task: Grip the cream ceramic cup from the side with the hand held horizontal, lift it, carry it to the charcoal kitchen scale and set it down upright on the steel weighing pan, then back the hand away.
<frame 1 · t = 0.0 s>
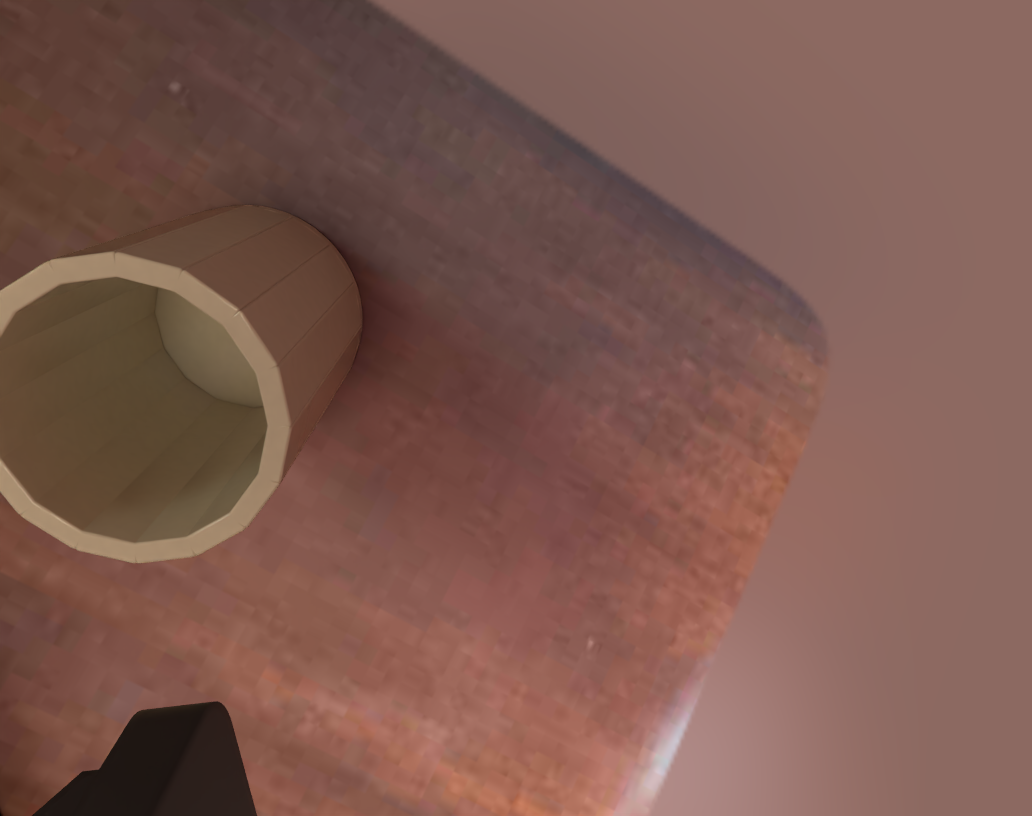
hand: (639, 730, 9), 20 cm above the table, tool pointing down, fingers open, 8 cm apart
cup: (255, 313, 28), on the table
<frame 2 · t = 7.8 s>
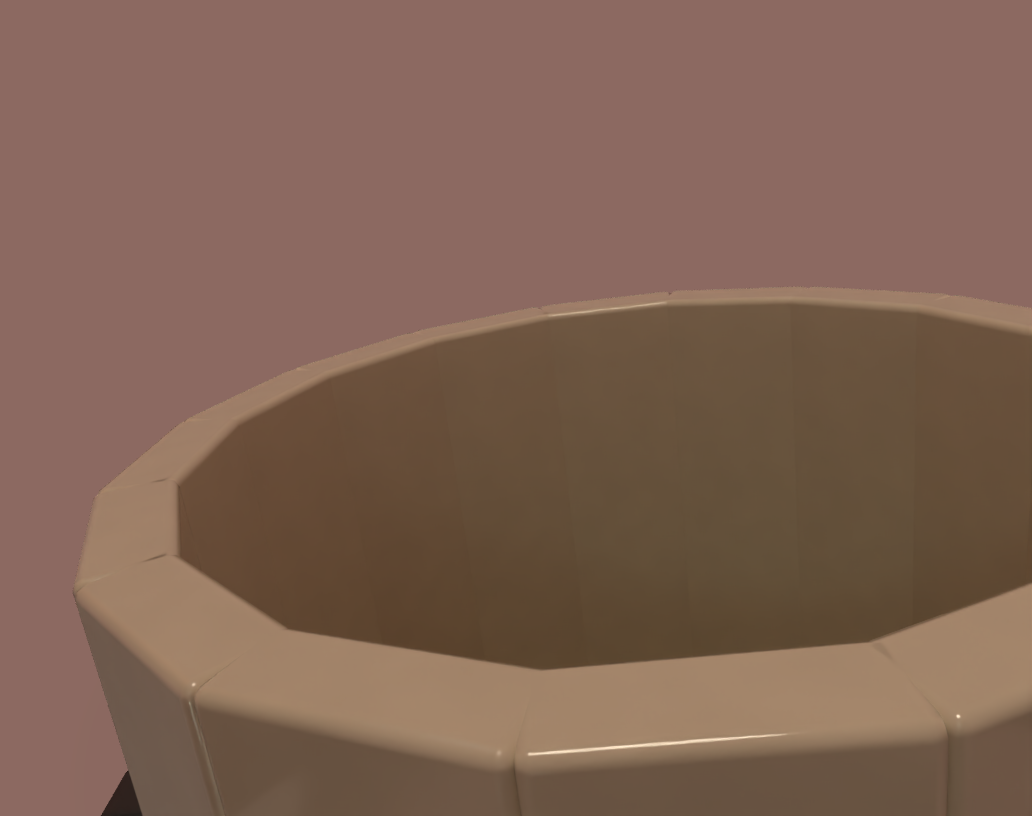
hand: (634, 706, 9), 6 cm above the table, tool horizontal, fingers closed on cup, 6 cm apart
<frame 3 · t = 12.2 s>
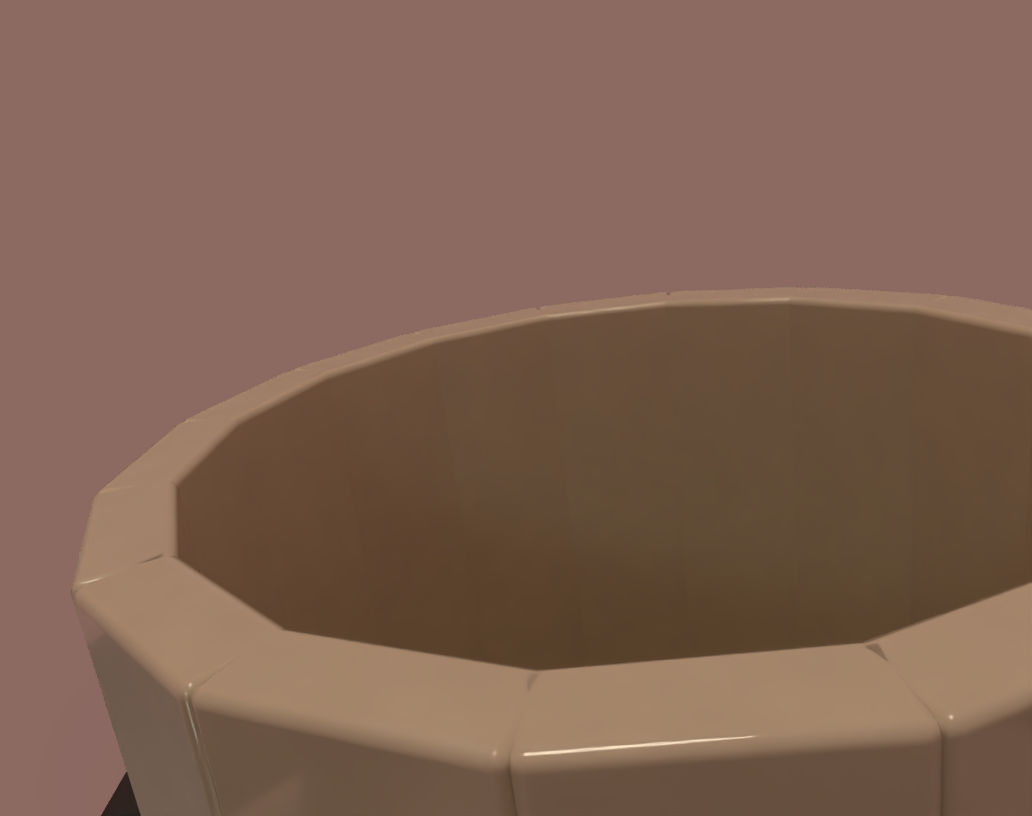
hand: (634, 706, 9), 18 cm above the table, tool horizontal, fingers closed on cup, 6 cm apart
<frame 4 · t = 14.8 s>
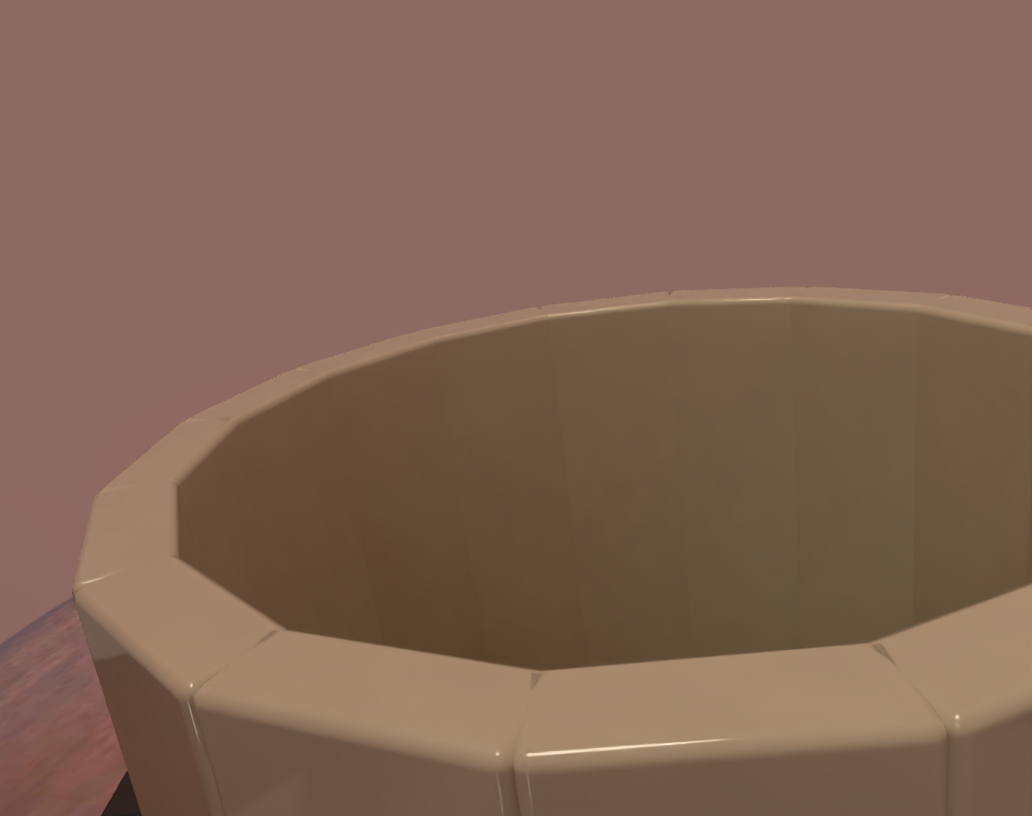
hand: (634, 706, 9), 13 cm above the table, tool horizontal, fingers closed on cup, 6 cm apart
when the fingers open (9 cm above the table, at t = 16.6 s): cup stays where it is, resting on scale.
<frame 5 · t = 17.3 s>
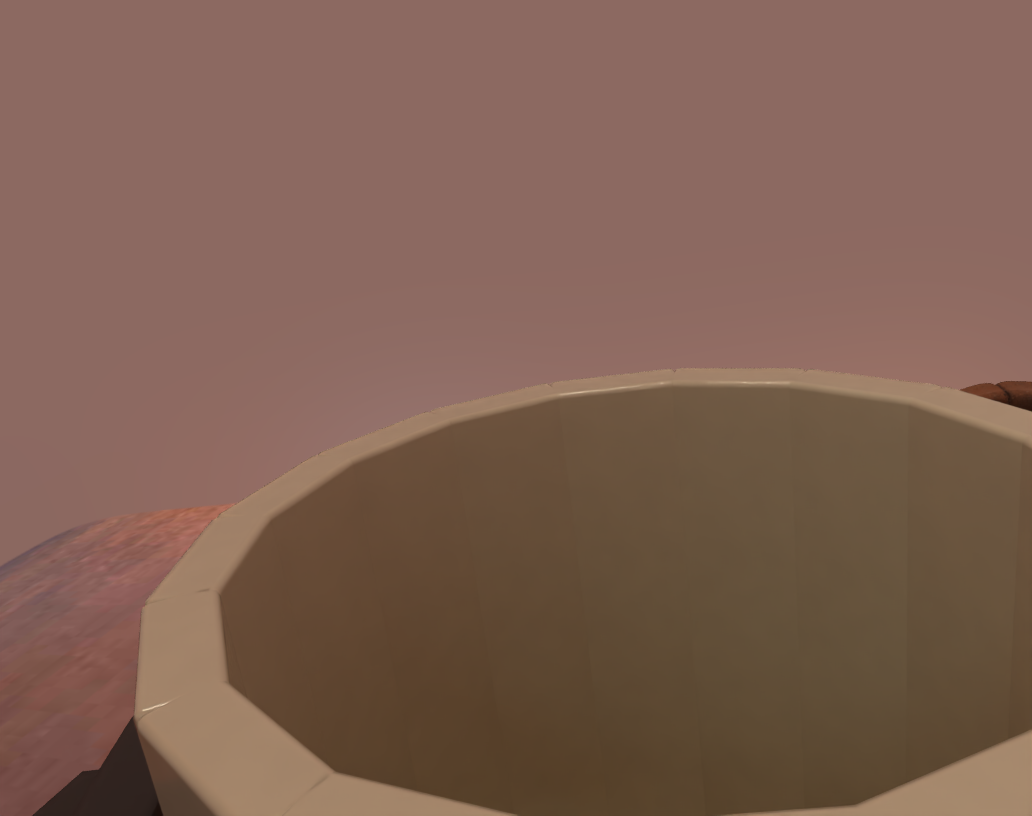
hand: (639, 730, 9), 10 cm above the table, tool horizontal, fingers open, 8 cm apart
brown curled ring: (950, 640, 26), on the table
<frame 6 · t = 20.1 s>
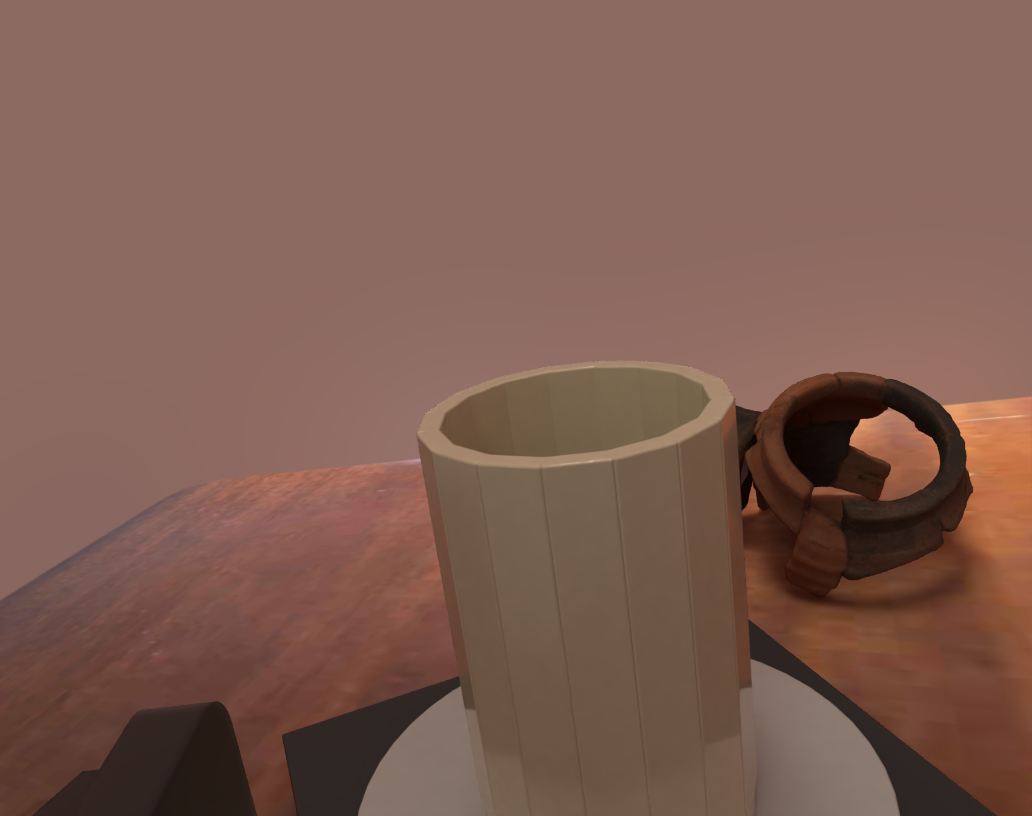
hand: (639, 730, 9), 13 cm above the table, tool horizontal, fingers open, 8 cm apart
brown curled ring: (813, 544, 38), on the table
cup: (617, 788, 22), point 3 cm above the table, touching scale
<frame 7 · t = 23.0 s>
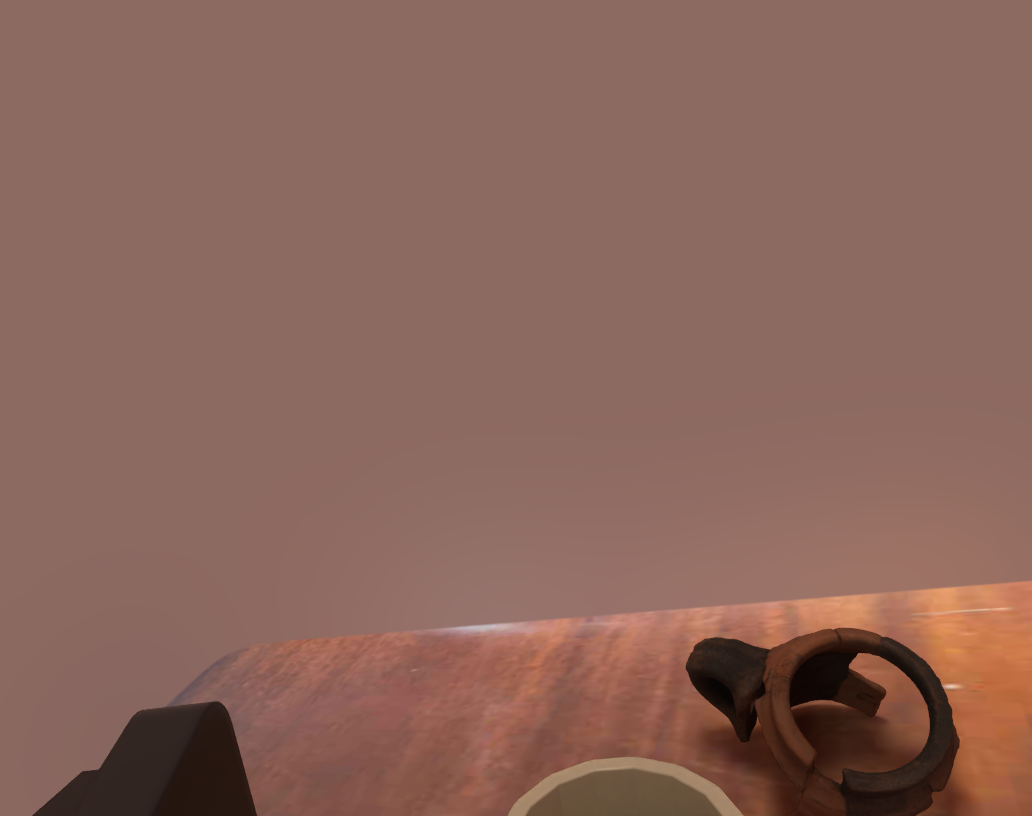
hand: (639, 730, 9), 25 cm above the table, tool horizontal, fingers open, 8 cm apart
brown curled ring: (815, 770, 42), on the table
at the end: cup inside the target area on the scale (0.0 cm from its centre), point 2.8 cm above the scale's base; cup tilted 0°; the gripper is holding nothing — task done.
